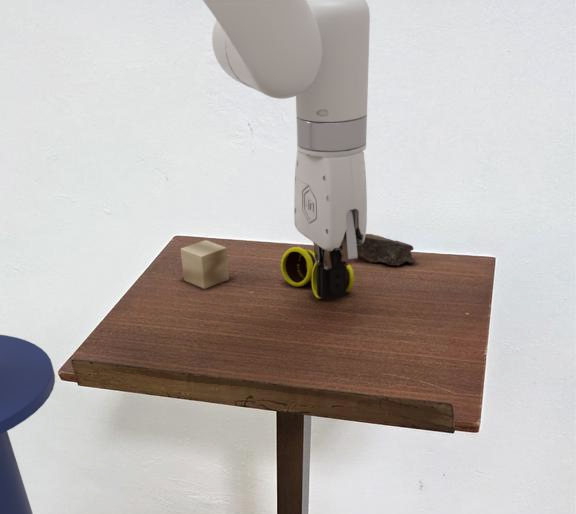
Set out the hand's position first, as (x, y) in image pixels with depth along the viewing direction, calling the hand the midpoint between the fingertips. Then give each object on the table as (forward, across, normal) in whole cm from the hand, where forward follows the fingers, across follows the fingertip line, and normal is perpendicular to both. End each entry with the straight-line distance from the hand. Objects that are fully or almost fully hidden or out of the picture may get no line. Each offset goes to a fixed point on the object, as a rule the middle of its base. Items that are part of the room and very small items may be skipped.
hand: (331, 295), depth 92 cm
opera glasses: (+2, -7, +2) cm, 7 cm away
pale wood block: (+2, -16, -11) cm, 20 cm away
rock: (+2, -13, +13) cm, 18 cm away
